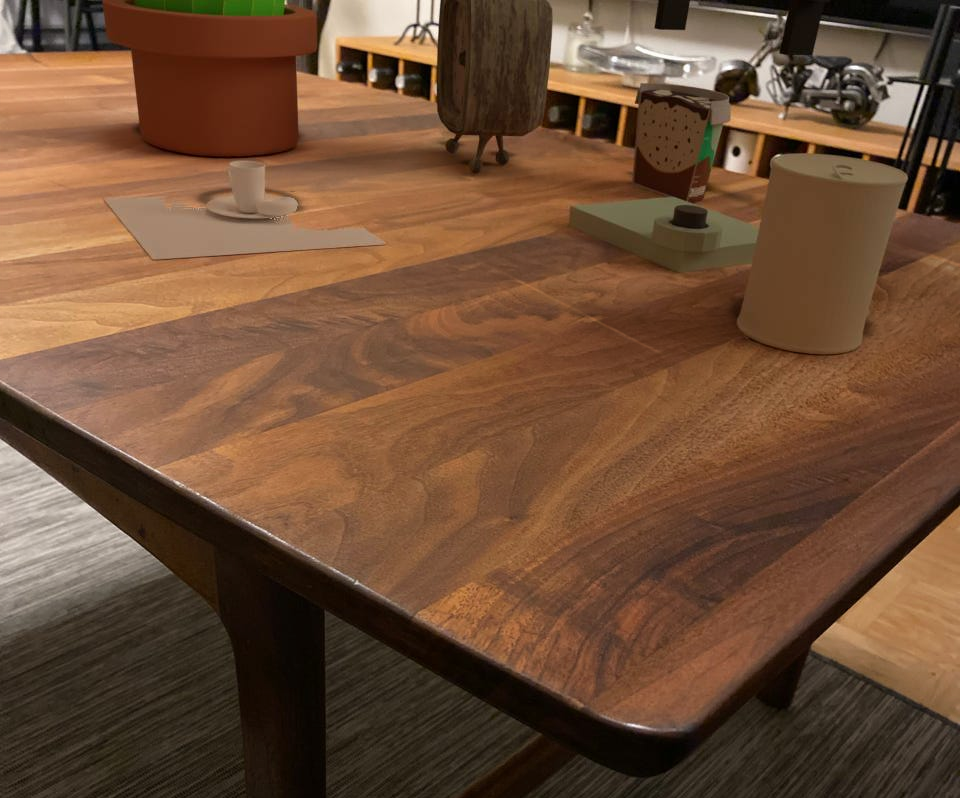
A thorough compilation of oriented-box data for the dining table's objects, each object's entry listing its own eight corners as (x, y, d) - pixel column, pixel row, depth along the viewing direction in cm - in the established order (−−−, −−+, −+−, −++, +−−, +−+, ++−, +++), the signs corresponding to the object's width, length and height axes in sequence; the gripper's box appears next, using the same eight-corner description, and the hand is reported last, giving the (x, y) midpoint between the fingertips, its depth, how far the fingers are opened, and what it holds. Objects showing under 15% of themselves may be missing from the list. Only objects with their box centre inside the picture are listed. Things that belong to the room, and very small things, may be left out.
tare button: (711, 230, 88) (714, 211, 87) (686, 233, 87) (690, 214, 86) (689, 222, 90) (692, 203, 89) (664, 225, 89) (668, 206, 88)
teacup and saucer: (309, 223, 93) (308, 174, 91) (222, 228, 90) (218, 177, 87) (279, 199, 99) (277, 153, 97) (196, 203, 96) (192, 156, 94)
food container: (739, 204, 111) (760, 100, 105) (696, 208, 108) (715, 102, 103) (665, 178, 119) (680, 81, 114) (623, 181, 117) (637, 82, 111)
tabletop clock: (433, 150, 124) (443, -106, 109) (505, 152, 126) (524, -99, 111) (463, 178, 112) (479, -104, 98) (542, 179, 115) (568, -96, 100)
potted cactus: (244, 119, 132) (229, -123, 117) (355, 151, 120) (354, -114, 106) (84, 132, 119) (46, -139, 104) (192, 171, 107) (165, -130, 92)
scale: (792, 262, 93) (802, 221, 91) (678, 278, 87) (686, 234, 85) (670, 216, 105) (676, 179, 103) (560, 227, 98) (564, 188, 96)
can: (740, 346, 74) (779, 166, 67) (732, 307, 81) (767, 140, 74) (871, 361, 73) (924, 180, 66) (851, 319, 81) (897, 153, 74)
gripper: (631, -328, 73) (590, 19, 85) (924, -370, 57) (821, 66, 69) (707, -310, 77) (657, 21, 89) (1003, -345, 60) (892, 66, 73)
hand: (729, 41), depth 79 cm, fingers open, 13 cm apart
